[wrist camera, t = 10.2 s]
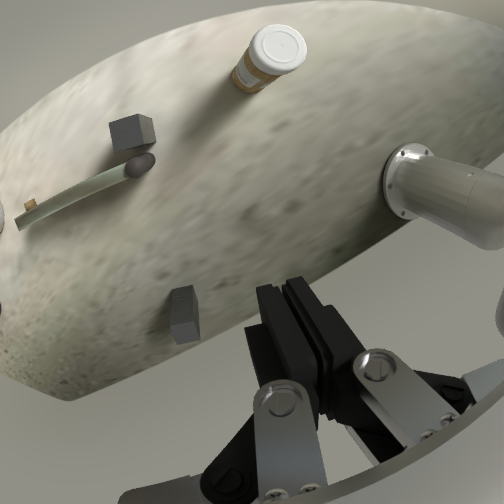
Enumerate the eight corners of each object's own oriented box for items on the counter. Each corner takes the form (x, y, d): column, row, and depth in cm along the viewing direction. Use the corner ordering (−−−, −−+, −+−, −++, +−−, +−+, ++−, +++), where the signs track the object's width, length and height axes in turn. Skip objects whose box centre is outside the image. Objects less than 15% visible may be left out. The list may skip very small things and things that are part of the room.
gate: (157, 165, 32) (147, 173, 25) (44, 215, 30) (17, 234, 24) (150, 144, 30) (138, 146, 24) (37, 196, 29) (9, 212, 22)
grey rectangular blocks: (151, 118, 30) (138, 113, 22) (197, 302, 41) (200, 339, 33) (128, 125, 29) (108, 122, 22) (178, 306, 40) (177, 344, 33)
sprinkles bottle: (270, 91, 31) (312, 70, 19) (233, 95, 30) (257, 73, 18) (265, 58, 29) (303, 23, 17) (228, 61, 28) (249, 23, 16)
